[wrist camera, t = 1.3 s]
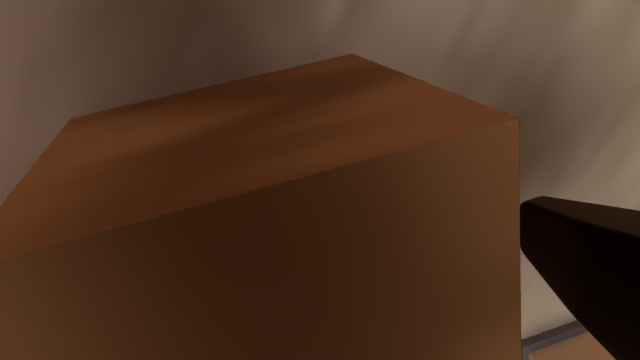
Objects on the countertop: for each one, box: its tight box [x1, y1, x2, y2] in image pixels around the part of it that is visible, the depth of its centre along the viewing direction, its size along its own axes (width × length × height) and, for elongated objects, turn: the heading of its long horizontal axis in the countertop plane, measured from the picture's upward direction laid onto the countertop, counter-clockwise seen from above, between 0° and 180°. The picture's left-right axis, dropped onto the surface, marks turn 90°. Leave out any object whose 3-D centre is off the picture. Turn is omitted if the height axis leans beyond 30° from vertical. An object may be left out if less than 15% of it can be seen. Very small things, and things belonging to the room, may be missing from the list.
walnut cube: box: [0, 54, 521, 360], centre depth 9 cm, size 6×6×6 cm
